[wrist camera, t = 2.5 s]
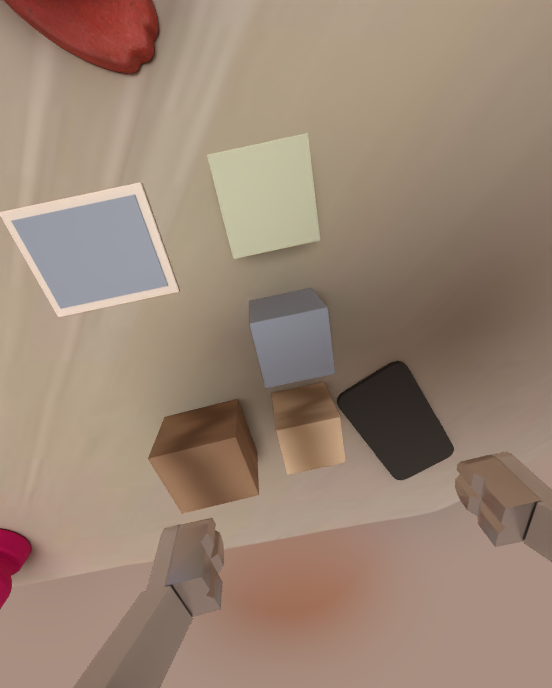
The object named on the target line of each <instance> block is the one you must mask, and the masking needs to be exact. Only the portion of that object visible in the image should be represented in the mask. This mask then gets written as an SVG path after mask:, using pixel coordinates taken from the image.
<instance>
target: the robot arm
mask: <svg viewBox="0 0 552 688" xmlns="http://www.w3.org/2000/svg"><path fill="white" fill-rule="evenodd" d="M457 471H458V472H459V473H460V475H459V476H458V477H457V478H456V479H455V488H456V492H457V495H458V497H459V498H460V500H461V502H462V504H463V505H464V506H465V508H466V509H467V510H468V511H470V512H471V513H473V514H475V515H477V517H478V525H479V526H480V527H481V529H482V530H483V532H484V533H485V534H486V535H487V537H488V538H489V539H490V541H491V542H492V543H493V545H494V546H495V547H497V546H502V545H507V544H512V543H517V542H523V541H524V543H525V544H526V545H527V546H529V547H530V548H532V549H533V550H535V551H536V552H538V553H539V554H541V555H542V556H544V557H545V558H547V559H548V560H550V561H551V562H552V489H550V488H549V487H548V486H547V485H546V484H545V483H544V482H543V481H542V480H540V479H539V478H538V477H537V476H536V475H535V474H534V473H532V472H531V471H530V470H529V469H528V468H527V467H526V466H524V464H522V463H521V462H520V461H519V460H518V459H517V458H516V457H515V456H513V455H512V454H510V453H508V452H500V453H496V454H492V455H486V456H482V457H478V458H474V459H470V460H466V461H461V462H459V463H458V464H457ZM215 526H216V524H215V522H214V520H213V518H210V519H205V520H200V521H196V522H191V523H186V524H180V525H176V526H172V527H167V528H165V529H164V530H163V532H162V534H161V537H160V541H159V545H158V548H157V552H156V556H155V560H154V564H153V567H152V572H151V575H150V579H149V583H148V586H147V590H146V591H144V592H141V593H140V595H139V596H138V598H137V599H136V600H135V602H134V603H133V605H132V606H131V607H130V609H129V610H128V612H127V613H126V614H125V616H124V617H123V619H122V620H121V621H120V623H119V624H118V626H117V627H116V628H115V630H114V631H113V632H112V634H111V635H110V637H109V638H108V639H107V641H106V642H105V644H104V645H103V646H102V648H101V649H100V651H99V652H98V653H97V655H96V656H95V658H94V659H93V660H92V662H91V663H90V665H89V666H88V667H87V669H86V670H85V672H84V673H83V674H82V676H81V677H80V679H79V680H78V681H77V683H76V684H75V686H74V687H73V688H160V687H161V684H162V682H163V680H164V678H165V676H166V674H167V672H168V669H169V668H170V665H171V664H172V661H173V659H174V657H175V655H176V653H177V651H178V649H179V647H180V645H181V643H182V641H183V639H184V637H185V634H186V632H187V630H188V628H189V626H190V624H191V622H192V620H193V618H192V617H194V616H198V615H202V614H205V613H209V612H213V611H216V610H220V609H221V597H222V580H221V578H220V576H219V575H218V574H219V572H220V571H221V569H222V567H223V564H224V548H223V541H222V537H221V535H220V532H218V531H216V530H215Z"/></svg>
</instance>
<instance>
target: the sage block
mask: <svg viewBox="0 0 552 688" xmlns="http://www.w3.org/2000/svg"><path fill="white" fill-rule="evenodd" d="M207 157H208V161H209V165H210V169H211V173H212V177H213V181H214V185H215V188H216V192H217V196H218V200H219V204H220V208H221V212H222V216H223V220H224V224H225V228H226V232H227V236H228V240H229V244H230V248H231V252H232V256H233V259H236V258H241V257H245V256H250V255H255V254H259V253H264V252H269V251H273V250H278V249H282V248H287V247H292V246H296V245H301V244H306V243H310V242H315V241H320V234H319V226H318V217H317V208H316V200H315V191H314V183H313V174H312V165H311V157H310V148H309V139H308V133H305V134H301V135H296V136H292V137H287V138H282V139H278V140H273V141H268V142H264V143H259V144H254V145H250V146H245V147H241V148H236V149H231V150H227V151H222V152H217V153H213V154H208V155H207Z"/></svg>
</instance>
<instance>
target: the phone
mask: <svg viewBox="0 0 552 688" xmlns="http://www.w3.org/2000/svg"><path fill="white" fill-rule="evenodd" d="M337 403H338V405H339V408H340V409H341V410H342V412H343V413H344V414H345V416H346V417H347V418H348V420H349V421H350V422H351V423H352V425H353V426H354V427H355V429H356V430H357V431H358V432H359V434H360V435H361V436H362V438H363V439H364V440H365V441H366V443H367V444H368V445H369V447H370V448H371V449H372V450H373V452H374V453H375V454H376V456H377V457H378V458H379V460H380V461H381V462H382V463H383V465H384V466H385V467H386V468H387V470H388V471H389V472H390V474H391V475H392V476H393V477H394V478H395V479H397V480H405V479H407V478H409V477H411V476H413V475H415V474H417V473H419V472H421V471H423V470H425V469H427V468H429V467H431V466H433V465H435V464H437V463H439V462H441V461H442V460H444V459H446V458H448V457H449V456H451V455H452V453H453V451H454V447H453V445H452V443H451V442H450V440H449V438H448V436H447V435H446V432H445V431H444V429H443V427H442V426H441V424H440V422H439V420H438V418H437V417H436V415H435V414H434V412H433V410H432V408H431V407H430V405H429V403H428V402H427V400H426V398H425V396H424V395H423V393H422V391H421V389H420V388H419V386H418V384H417V382H416V381H415V379H414V377H413V375H412V374H411V372H410V370H409V369H408V367H407V366H406V365H405V364H404V363H402V362H400V361H396V362H392V363H390V364H388V365H386V366H385V367H383V368H381V369H380V370H378V371H376V372H375V373H373V374H371V375H370V376H368V377H367V378H365V379H363V380H362V381H360V382H358V383H357V384H355V385H353V386H352V387H350V388H349V389H347V390H345V391H344V392H342V393H341V394H340V395H339V397H338V399H337Z"/></svg>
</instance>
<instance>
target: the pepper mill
mask: <svg viewBox="0 0 552 688" xmlns="http://www.w3.org/2000/svg"><path fill="white" fill-rule="evenodd" d="M30 552H31V546H30V543H29V542H28V541H27V540H26V539H25V538H24V537H22V536H21V535H19V534H17V533H14V532H12V531H8V530H3V529H0V609H1V607H2V606H3V604H4V603H5V601H6V599H7V598H8V597H9V594H10V592H11V588H12V579H11V575H13V574H15V573H17V572H18V571H19V570H20V568H21V567H22V565H23V564H24V562H25V561H26V559H27V558H28V556H29V554H30Z"/></svg>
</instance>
